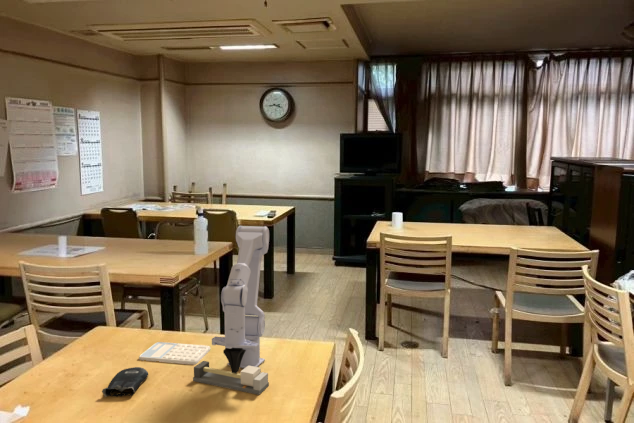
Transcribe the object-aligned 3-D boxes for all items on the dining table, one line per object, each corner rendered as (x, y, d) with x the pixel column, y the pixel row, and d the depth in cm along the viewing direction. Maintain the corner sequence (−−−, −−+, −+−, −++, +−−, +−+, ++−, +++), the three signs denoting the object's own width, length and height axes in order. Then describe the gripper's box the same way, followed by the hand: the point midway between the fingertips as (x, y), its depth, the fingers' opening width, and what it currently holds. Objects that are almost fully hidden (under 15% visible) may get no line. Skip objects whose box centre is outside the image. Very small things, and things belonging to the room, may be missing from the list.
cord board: (193, 380, 151) (192, 367, 151) (204, 372, 157) (204, 360, 156) (258, 394, 143) (258, 381, 142) (268, 385, 148) (268, 372, 148)
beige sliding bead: (240, 384, 146) (240, 371, 145) (248, 377, 150) (248, 365, 149) (253, 386, 144) (253, 373, 144) (260, 380, 148) (260, 367, 148)
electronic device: (138, 402, 142) (152, 371, 156) (133, 385, 140) (148, 355, 155) (104, 406, 142) (122, 375, 156) (100, 389, 140) (117, 359, 155)
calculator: (195, 366, 162) (195, 360, 162) (137, 361, 166) (137, 355, 165) (211, 350, 175) (211, 344, 175) (157, 345, 179) (157, 340, 178)
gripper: (205, 327, 146) (206, 372, 148) (250, 334, 141) (250, 381, 142) (218, 319, 152) (219, 363, 154) (262, 326, 147) (262, 371, 149)
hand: (235, 371), depth 149 cm, fingers closed
